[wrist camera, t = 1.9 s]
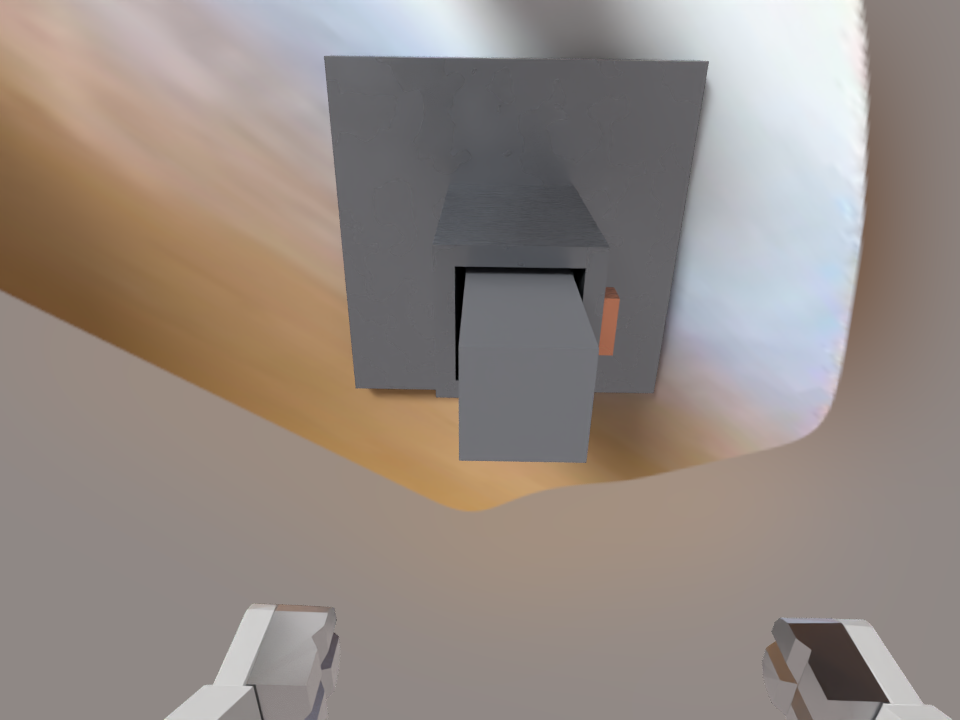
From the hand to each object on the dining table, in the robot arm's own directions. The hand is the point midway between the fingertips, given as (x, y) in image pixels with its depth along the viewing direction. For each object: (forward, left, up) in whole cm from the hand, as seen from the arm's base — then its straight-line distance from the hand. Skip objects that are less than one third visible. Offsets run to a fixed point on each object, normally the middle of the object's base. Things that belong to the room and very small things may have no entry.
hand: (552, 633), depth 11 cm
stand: (0, 0, -26) cm, 26 cm away
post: (0, 0, -24) cm, 24 cm away
